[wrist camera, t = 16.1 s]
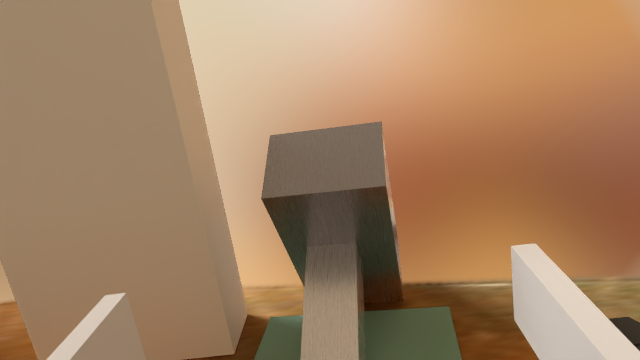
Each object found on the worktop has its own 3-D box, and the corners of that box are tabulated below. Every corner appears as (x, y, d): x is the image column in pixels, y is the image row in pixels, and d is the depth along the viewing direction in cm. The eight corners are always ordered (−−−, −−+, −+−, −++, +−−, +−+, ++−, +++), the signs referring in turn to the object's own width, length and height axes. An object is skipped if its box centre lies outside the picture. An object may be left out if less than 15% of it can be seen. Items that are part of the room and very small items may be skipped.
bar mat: (250, 380, 30) (248, 372, 30) (271, 324, 35) (270, 317, 35) (463, 371, 28) (462, 362, 27) (449, 313, 33) (448, 306, 33)
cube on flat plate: (270, 135, 30) (381, 121, 29) (315, 250, 40) (398, 244, 39) (241, 342, 21) (397, 335, 20) (308, 419, 32) (413, 418, 31)
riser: (80, 332, 38) (-57, -71, 30) (247, 313, 37) (153, -111, 29) (43, 374, 34) (-132, -92, 25) (234, 354, 33) (117, -141, 24)
